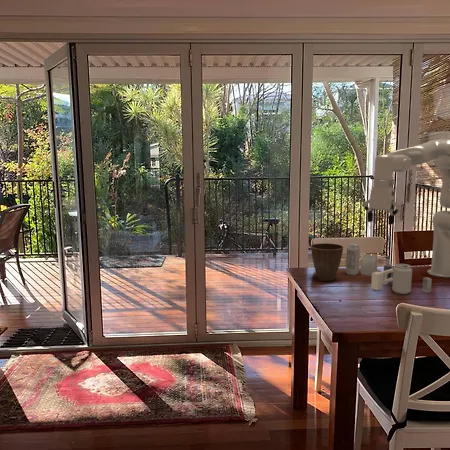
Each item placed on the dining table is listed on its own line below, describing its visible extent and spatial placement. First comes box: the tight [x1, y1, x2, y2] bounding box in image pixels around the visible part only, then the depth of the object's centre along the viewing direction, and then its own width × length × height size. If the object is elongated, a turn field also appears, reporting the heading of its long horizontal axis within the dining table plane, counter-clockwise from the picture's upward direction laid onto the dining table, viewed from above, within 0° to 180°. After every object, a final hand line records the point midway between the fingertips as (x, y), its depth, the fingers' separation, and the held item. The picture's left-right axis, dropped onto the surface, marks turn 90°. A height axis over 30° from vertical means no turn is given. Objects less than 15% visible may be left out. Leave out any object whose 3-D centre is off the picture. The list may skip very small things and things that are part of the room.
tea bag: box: [360, 253, 378, 277], centre depth 212 cm, size 4×7×10 cm, turn 50°
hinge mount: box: [383, 264, 395, 285], centre depth 199 cm, size 4×7×8 cm, turn 25°
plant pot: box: [310, 242, 344, 282], centre depth 204 cm, size 15×15×16 cm
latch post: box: [421, 276, 433, 294], centre depth 185 cm, size 2×2×6 cm
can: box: [391, 263, 413, 295], centre depth 185 cm, size 8×8×12 cm
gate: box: [370, 266, 395, 291], centre depth 193 cm, size 3×18×7 cm, turn 130°
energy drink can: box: [345, 243, 361, 276], centre depth 212 cm, size 6×6×15 cm
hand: (380, 222), depth 188 cm, fingers open, 9 cm apart
